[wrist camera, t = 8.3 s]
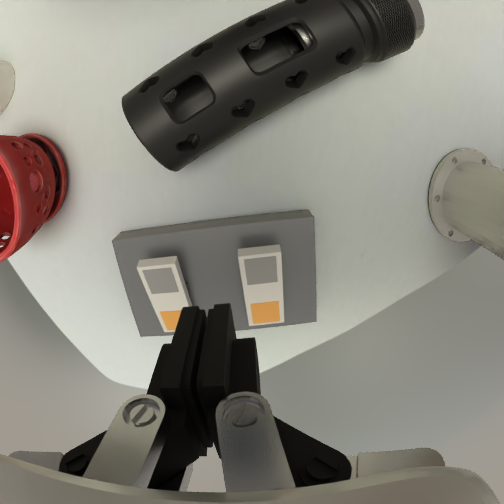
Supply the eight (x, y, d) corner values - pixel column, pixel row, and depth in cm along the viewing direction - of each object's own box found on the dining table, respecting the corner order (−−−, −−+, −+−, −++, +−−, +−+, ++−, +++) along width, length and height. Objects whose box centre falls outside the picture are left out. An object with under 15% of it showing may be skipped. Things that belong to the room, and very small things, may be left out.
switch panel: (308, 209, 35) (315, 219, 31) (311, 308, 40) (318, 326, 36) (121, 232, 35) (108, 244, 32) (146, 323, 40) (138, 341, 36)
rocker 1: (176, 255, 30) (174, 264, 29) (197, 322, 36) (197, 330, 35) (139, 259, 30) (136, 268, 29) (165, 324, 36) (164, 332, 35)
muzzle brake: (143, 98, 30) (104, 88, 20) (355, -11, 25) (389, -48, 16) (188, 167, 33) (165, 182, 24) (398, 54, 28) (445, 36, 19)
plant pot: (-8, 170, 31) (-67, 189, 20) (48, 109, 29) (-16, 110, 18) (33, 246, 36) (-19, 285, 25) (95, 195, 34) (40, 225, 23)
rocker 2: (279, 244, 30) (281, 252, 29) (283, 314, 36) (284, 322, 35) (237, 248, 30) (237, 257, 29) (248, 318, 36) (249, 326, 35)
